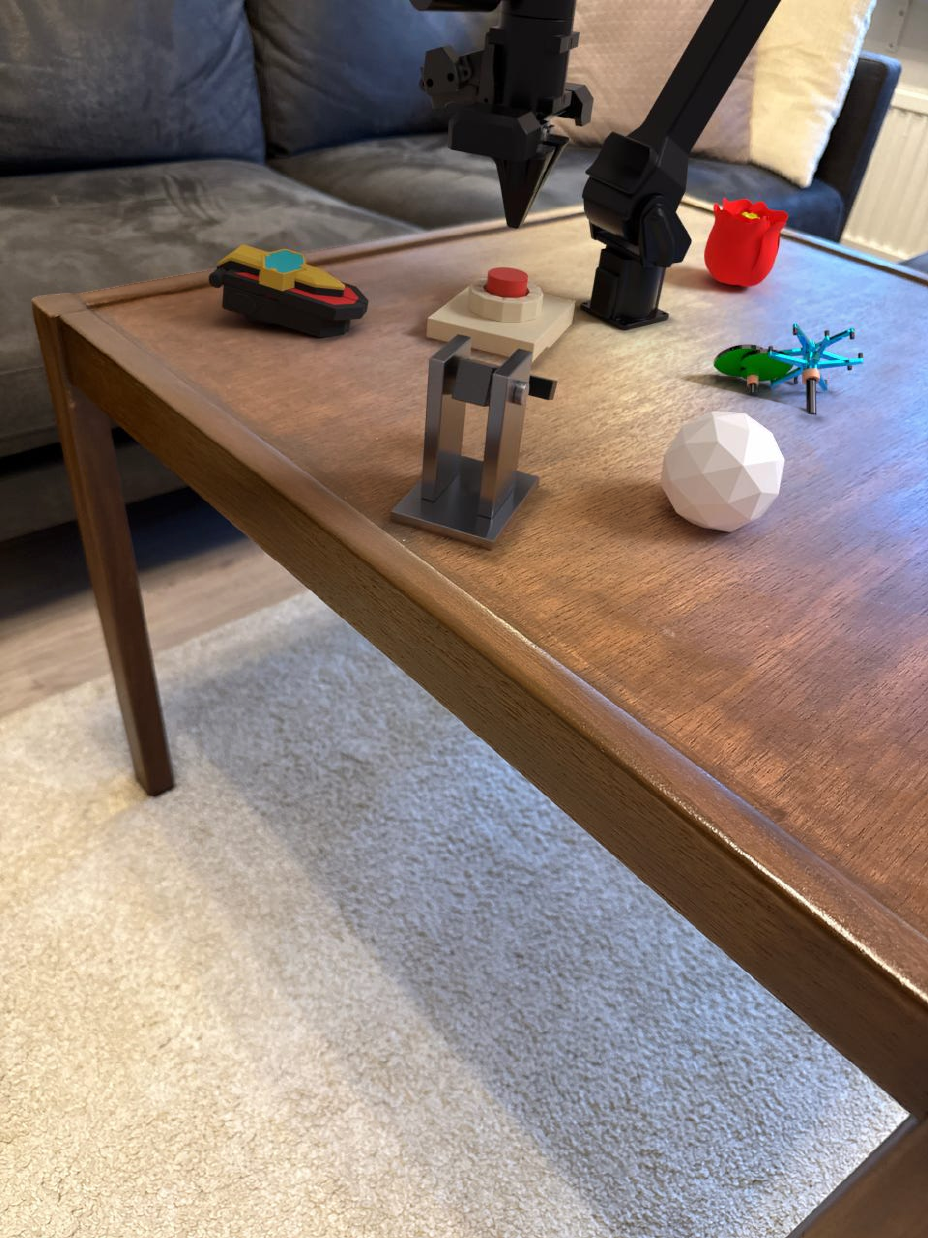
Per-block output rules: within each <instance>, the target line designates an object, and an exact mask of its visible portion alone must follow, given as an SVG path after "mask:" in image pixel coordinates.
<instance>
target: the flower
mask: <svg viewBox="0 0 928 1238" xmlns="http://www.w3.org/2000/svg"><path fill="white" fill-rule="evenodd" d="M712 209H713V214H714V223H713V225H712V228H711V229H710V232H709V234H708V236H707V240H706V243H705V247H704V252H703V260H704V261H703V262H704V265H705V267H706V269H707V271H708V272H709V274H710V275H711V276H712V277H713V278H714V279H715V280H716V281H717V282H719V283H721V284H726V285H731V286H740V287H745V288H746V287H747V288H749V287H755V286H757V285H759V284H761V283H762V282H763V281H764V280H765V279H766V278H767V277H768V276H769V274H770V273H771V272H772V270H773V268H774V265H775V263H776V259H777V256H778V254H779V250H780V246H781V245H780V244H781V233H782V231H783V229H784V228H785V226H786V225H787V220H788V218H789V213H788V212H786V211H785V210H780V209H779V210H776V209H775V210H774V209H770V208H769V207H768V206H767V205H766V203H765V202H763V201H756V202H755V203H753V202H752V201H751V200H750V199H747V198H742V199H736V200H733V201H728V200H727V199H726V197H723V199H722V208H721V207H720V204H719V203H717V202H716V203H714V204H713V206H712Z"/></svg>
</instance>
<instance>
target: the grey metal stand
mask: <svg viewBox="0 0 928 1238" xmlns="http://www.w3.org/2000/svg"><path fill="white" fill-rule="evenodd" d="M471 342H472V337H469V336H465V335H460V334H457V335H456V336H455V337H454V338H452V339H451V340H450V341H449V342H446V343H445V344H444V345H443V346H442V347H440V348H439V349H438V350H437V351H436V352H435V353H434V354H432V355H431V356H430V357H429V359H428V371H427V373H428V375H427V390H426V406H425V421H424V422H425V424H424V437H423V438H424V440H423V453H422V455H423V456H422V469H421V470H422V471H421V478H420V480H418V482H416V483H415V485H414V486H413V487H412V488H411V489H409V491H408V492H407V493H406V494H405V495H404V497H403V498H402V499H401V500H400V501H398V503H397V504H396V505H395V506H394V507H393V508H392V509H391V510H390V521H391V522H395V523H399V524H401V525H405V526H408V527H410V528H411V527H412V528H414V529H418V530H422V531H425V532H428V533H432V534H435V535H438V536H441V537H445V538H448V539H452V540H455V541H457V542H462V543H465V544H468V545H471V546H474V547H478V548H481V549H484V550H488V551H494V550H495V548H496V547H497V545H498V543H499V542H500V541H501V539H502V538H503V537H504V536H505V534H506V532H507V531H508V529H509V528H510V527H511V525H512V524H513V523H514V522H515V520H516V518H517V517H518V516H519V514H520V513H521V512H522V510H523V509H524V508H525V506H526V504H527V503H528V501H529V500H530V499H531V497H532V496H533V495H534V493H535V492H536V491H537V489H538V488H539V486H540V479H541V477H540V476H538V475H535V474H531V473H527V472H523V471H520V470H518V466H519V461H520V460H519V459H520V451H521V443H522V436H523V429H524V421H525V414H526V406H527V400H528V396H529V395H528V393H529V377H530V374H531V369H532V363H533V362H532V355H533V352H531V351H527V350H523V349H517V350H516V351H515V352H514V353H513V354H512V355H511V356H510V357H508V358H507V359H506V360H505V361H504V362H503V363H502V364H501V365H499V366H500V367H499V368H498V369H497V370H496V371H495V372H494V373H493V375H492V384H491V394H490V403H489V407H488V413H487V423H486V432H485V433H486V434H485V442H484V451H483V460H479V459H476V458H473V457H469V456H466V455H462V454H463V453H462V452H463V441H464V431H465V420H466V419H465V418H466V407H467V403H466V402H462V401H459V400H455V399H452V398H451V397H452V392H453V387H454V383H455V378H456V373H457V368H458V364H459V359H471V352H472V348H471Z"/></svg>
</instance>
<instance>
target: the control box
mask: <svg viewBox="0 0 928 1238" xmlns="http://www.w3.org/2000/svg"><path fill="white" fill-rule="evenodd" d="M487 278H488V276H487V277H482V278H477V279H475V280H474V281H473V282H471V283H470V284H469V285H468V286H467V287H466V288H464V289H463V290H462V291H460V292H459V293H458V294H456V295H455V296H454V297H453V298H451V299H449V301H448V302H446V303H445V304H443V305H442V306H441V307H440V308H438V309H437V310H436V311H435V312H433V313H432V314H431V315H429V317H427V319H426V320H427V323H426V335H425V336H426V338H428V339H429V338H430V339H434V340H438V341H443V342H446V343H448V342H449V341H450V340H451V339H452V338H454V337H455V336H456V335H457V334H460V335H465V336H469V337H472V342H471V349H474V350H479V351H484V352H487V353H491V354H495V355H498V356H499V355H500V356H503V357H508V358H509V357H510V356H511V355H512V354H513V353H514V352H515V351H516V350H517V349H523V350H527V351H531V352H533V355H532V362H531V363H533V362H534V361H535V360H536V359H537V358H538V357H539V356H540V355H541V354H542V353H543V352H544V351H545V349H546V348H551V347H552V346H553V344H554V343H555V342H556V341H557V340H558V339H559V337H561V336H562V335H563V334H564V332H565V331H566V330H567V329H568V328H569V327H570V326H571V325H572V324H573V321H574V320H573V319H574V314H575V307H576V303H577V302H576V300H575V299H569V298H566V297H561V296H556V295H551V294H548V293H544V292H543V291H542V289H541V287H540V286H538V285H536V284H534V283H533V282H530V281H528V283H527V291H526V296H525V297H520V298H503V297H499V296H494V295H491V294H489V293H488V292H486V288H487Z"/></svg>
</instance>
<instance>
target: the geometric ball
mask: <svg viewBox="0 0 928 1238" xmlns="http://www.w3.org/2000/svg"><path fill="white" fill-rule="evenodd" d="M785 461H786V459H785V458H784V455H783V453H782V451H781V449H780V446H779V445H778V442H777V440H776V438H775V436H774V434H773V432H772V431H770V430H769V429H767V428H766V426H763V425H762V424H761V423H759V422H758V421H756V420H755V419H754V418H753V417H751V416H750V415H749V414H747V413H746V412H734V411H716V410H715V411H714V410H711V411H710V412H707V413H705V414H703V415H701V416H699V417H697V418H695V419H693V420H691V421H689V422H687V423H685V424H683V425H681V427H680V428H679V430H678V432H677V433H676V435H675V437H674V438H673V439H672V441H671V443H670V444H669V446H668V447H667V449H666V451H665V452H664V454H663V460H662V467H661V475H660V480H659V481H660V482H659V484H660V486H661V488H662V489H663V491H664V493H665V495H666V497H667V498H668V500H669V502H670V504H671V506H672V507H673V509H674V511H675V513H676V514H678V515H679V516H680V517H682V518H683V519H685V520H686V521H688V522H689V523H690V524H693V525H695V526H698V527H700V528H702V529H708V530H715V531H722V532H727V533H731V532H734V531H736V530H738V529H740V528H742V527H744V526H746V525H749V524H750V523H753V522H755V521H756V520H758V519H761V518H762V516H763V515H764V513H765V512H766V511H767V510H768V509H769V507H770V506H771V505H772V504H773V502H774V501H775V500H776V498H777V497H778V496H779V494H780V489H781V483H782V478H783V472H784V467H785Z"/></svg>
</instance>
